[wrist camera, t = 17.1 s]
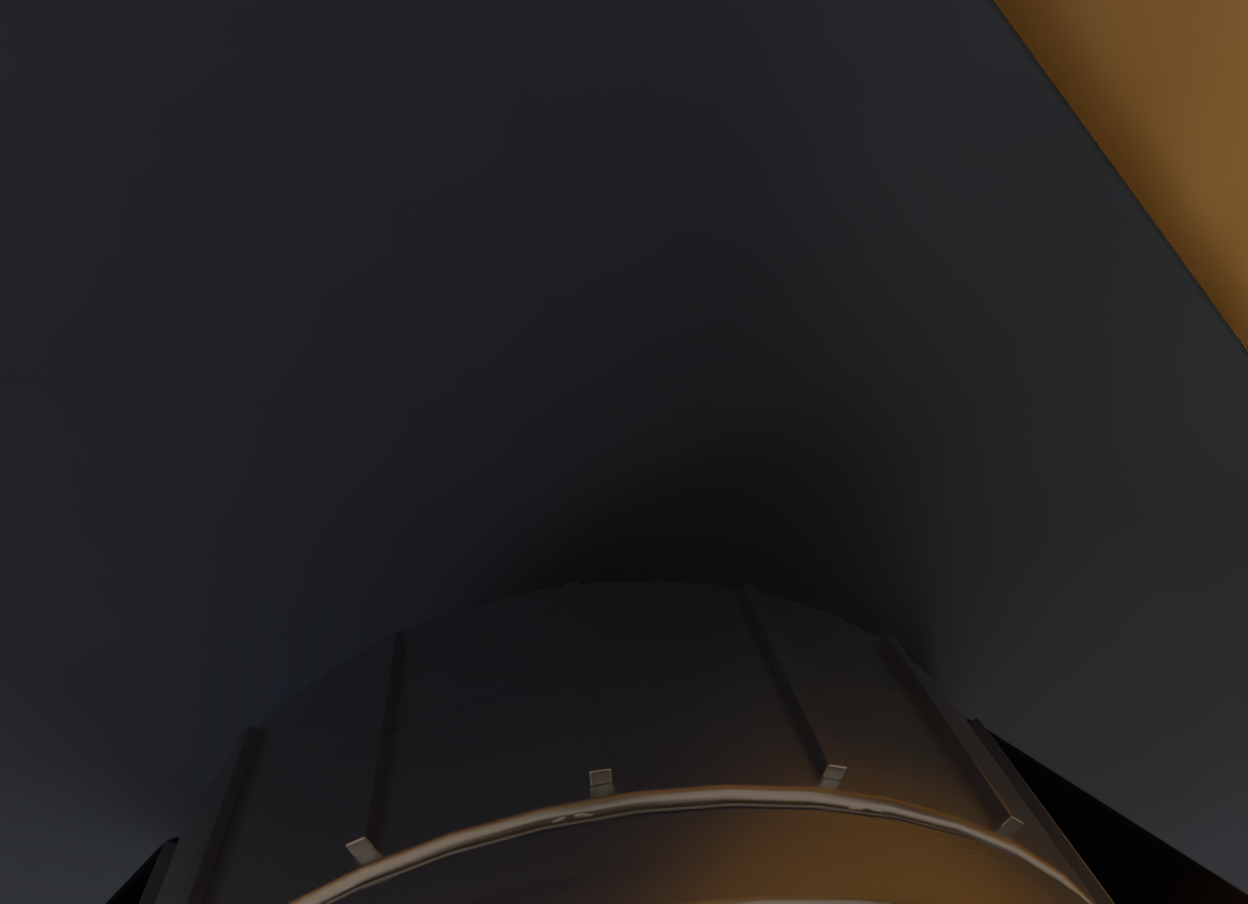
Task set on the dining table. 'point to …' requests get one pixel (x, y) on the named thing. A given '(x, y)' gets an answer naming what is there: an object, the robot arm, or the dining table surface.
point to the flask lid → (622, 769)
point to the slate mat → (588, 377)
